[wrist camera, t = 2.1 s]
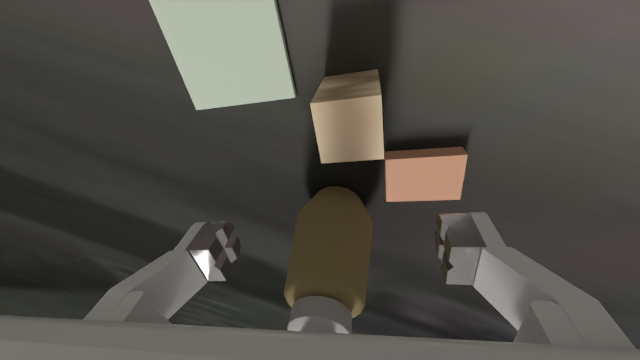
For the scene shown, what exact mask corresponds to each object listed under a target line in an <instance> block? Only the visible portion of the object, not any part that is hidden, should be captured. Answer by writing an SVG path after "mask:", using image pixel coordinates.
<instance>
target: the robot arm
mask: <svg viewBox="0 0 640 360" xmlns="http://www.w3.org/2000/svg"><path fill="white" fill-rule="evenodd" d="M436 223H437V226H438V230H437V231H435V246H436V251H437V255H438V258H440V259H441V260H442V265H441V269H442V272H443V275H444V279H445V282H446V284H460V285H473V287H474V288H475V289H476V290H477V291H478V292H479V293H481V294H482V295H483V296H484V297H485V298H486V299H487V300H488V301H489V302H490V303H491V304H492V305H493V306H494V307H495V308H496V309H497V310H498V311H499V312H500V313H501V314H502V315H503V316H504V317H505V318H506V319H507V320H508V321H509V322H510V323H511V324H512V325H513V326H514V327H515V328H516V329H517V330H518V333H517V335H516V337H515V339H514V341H513V343H512V342H494V341H475V340H456V339H438V338H419V337H400V336H381V335H362V334H343V333H324V332H305V331H287V330H268V329H249V328H230V327H212V326H193V325H174V324H171V323H170V322H169V321H168V319H169V318H170V317H171V316H172V315H173V314H174V313H175V312H176V311H177V310H178V309H179V308H181V307H182V306H183V305H184V304H185V303H186V302H187V301H188V300H189V299H190V298H191V297H192V296H193V295H194V294H195V293H196V292H197V291H198V290H199V289H201V288H202V287H203V286H204V285H205V284H206V283H207V281H226V280H227V278H228V276H229V274H230V272H231V270H232V268H233V266H232V262H233V261H234V260H235V259H237V257H238V255H239V253H240V247H241V245H240V240H239V237H238V236H237V235H236V234H234V233H233V231H234V227H233V225H232V223H231V222H197V223H194V224H193V225H192V227H191V228H190V229H189V230H188V232H187V233H186V234H185V236H184V237H183V238H182V240H181V241H180V242H179V244H178V245H177V246H176V247H175V249H174V250H173V251H169V252H167V253H166V254H164V255H163V256H161V257H159V258H158V259H156V260H155V261H153V262H152V263H150V264H148V265H147V266H145V267H144V268H142V269H141V270H139V271H137V272H136V273H134V274H133V275H131V276H130V277H128V278H126V279H125V280H123V281H122V282H120V283H119V284H117V285H115V286H114V287H112V288H111V289H110V290H109V291H108V292H107V293H106V294H105V295H104V296H103V298H102V299H101V300H100V301H99V302H98V303H97V304H96V306H95V307H94V308H93V309H92V310H91V311H90V312H89V313H88V315H87V316H86V317H85V318H84V319H83V320H82V319H63V318H45V317H26V316H10V315H0V360H640V349H636V348H635V347H634V346H633V345H632V343H631V342H630V341H629V339H628V338H627V337H626V336H625V334H624V333H623V332H622V330H621V329H620V328H619V327H618V325H617V324H616V323H615V321H614V320H613V319H612V318H611V316H610V315H609V314H608V313H607V311H606V310H605V309H604V307H603V306H602V305H601V304H600V302H599V301H598V300H596V299H594V298H593V297H591V296H590V295H588V294H586V293H585V292H583V291H582V290H580V289H578V288H577V287H575V286H573V285H572V284H570V283H569V282H567V281H565V280H564V279H562V278H561V277H559V276H557V275H556V274H554V273H552V272H551V271H549V270H548V269H546V268H544V267H543V266H541V265H540V264H538V263H536V262H535V261H533V260H532V259H530V258H528V257H527V256H525V255H523V254H522V253H520V252H519V251H517V250H515V249H514V248H512V247H506V245H505V244H504V242H503V240H502V238H501V237H500V235H499V233H498V232H497V230H496V228H495V227H494V225H493V223H492V222H491V220H490V218H489V217H488V215H487V213H485V212H473V213H455V214H438V215H437V220H436Z"/></svg>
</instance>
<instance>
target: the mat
mask: <svg viewBox="0 0 640 360" xmlns="http://www.w3.org/2000/svg"><path fill="white" fill-rule="evenodd" d="M149 2H150V4H151V6H152V9H153V11H154V13H155V16H156V18H157V20H158V22H159V25H160V27H161V29H162V32H163V34H164V36H165V39H166V41H167V43H168V46H169V48H170V50H171V53H172V55H173V57H174V59H175V62H176V64H177V66H178V69H179V71H180V73H181V76H182V78H183V80H184V83H185V85H186V87H187V90H188V92H189V94H190V96H191V99H192V101H193V103H194V106H195V108H196V110H202V109H210V108H217V107H225V106H233V105H241V104H249V103H257V102H264V101H272V100H280V99H288V98H295V97H296V96H297V95H296V90H295V85H294V81H293V76H292V71H291V67H290V62H289V57H288V53H287V48H286V43H285V39H284V34H283V29H282V25H281V20H280V15H279V11H278V6H277V1H276V0H149Z"/></svg>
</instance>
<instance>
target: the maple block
mask: <svg viewBox="0 0 640 360" xmlns="http://www.w3.org/2000/svg"><path fill="white" fill-rule="evenodd" d="M310 106H311V112H312V117H313V122H314V127H315V133H316V138H317V143H318V148H319V154H320V159H321V164H322V163H336V162H350V161H364V160H378V159H384V144H383V119H382V95H381V88H380V81H379V74H378V69H376V70H369V71H362V72H355V73H348V74H341V75H334V76H327V77H324V78H323V80H322V82H321V84H320V86H319V88H318V90H317V91H316V93H315V95H314V97H313V99H312V101H311V103H310Z"/></svg>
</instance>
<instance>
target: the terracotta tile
mask: <svg viewBox="0 0 640 360" xmlns="http://www.w3.org/2000/svg"><path fill="white" fill-rule="evenodd" d="M467 156H468V154H467V153H466V151H465V150H464V148H463V147H462V146H461V147H447V148H432V149H417V150H402V151H387V152H385V191H386V202H396V201H429V200H460V197H461V191H462V185H463V180H464V174H465V168H466V162H467Z"/></svg>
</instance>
